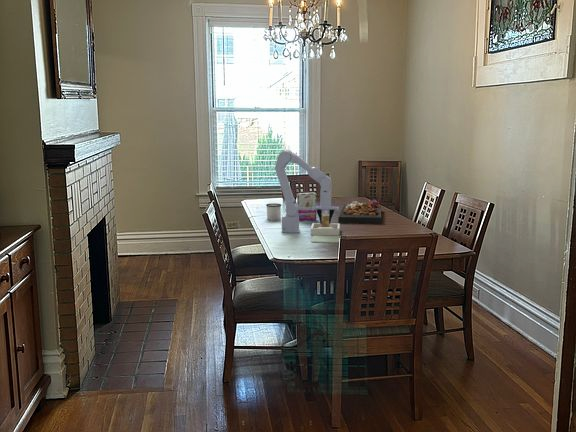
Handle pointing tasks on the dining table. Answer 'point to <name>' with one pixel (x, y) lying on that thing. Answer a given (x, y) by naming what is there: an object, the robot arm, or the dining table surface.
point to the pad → (325, 239)
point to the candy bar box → (306, 206)
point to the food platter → (361, 213)
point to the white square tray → (325, 229)
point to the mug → (273, 211)
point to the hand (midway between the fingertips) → (325, 223)
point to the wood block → (325, 220)
